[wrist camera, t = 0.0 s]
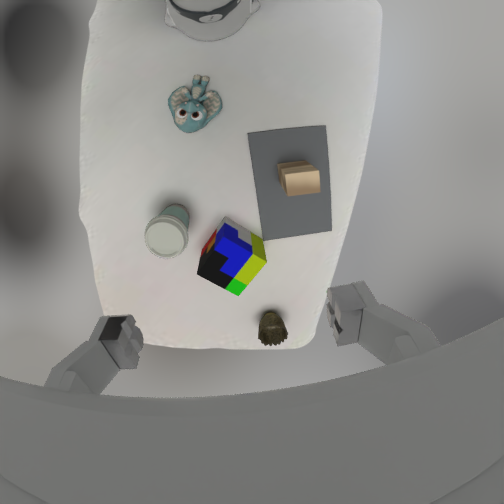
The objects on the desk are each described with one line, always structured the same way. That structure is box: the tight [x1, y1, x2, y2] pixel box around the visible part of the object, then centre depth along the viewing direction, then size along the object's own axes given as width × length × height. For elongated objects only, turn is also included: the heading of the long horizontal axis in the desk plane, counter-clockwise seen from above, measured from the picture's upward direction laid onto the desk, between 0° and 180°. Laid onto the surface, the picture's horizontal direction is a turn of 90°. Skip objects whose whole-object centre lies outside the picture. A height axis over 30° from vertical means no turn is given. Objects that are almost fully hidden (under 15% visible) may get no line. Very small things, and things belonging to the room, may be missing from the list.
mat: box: [248, 126, 332, 241], centre depth 57 cm, size 24×16×1 cm, turn 8°
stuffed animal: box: [168, 75, 222, 133], centre depth 45 cm, size 11×7×12 cm
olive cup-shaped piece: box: [258, 312, 288, 346], centre depth 71 cm, size 8×7×8 cm
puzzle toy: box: [197, 217, 267, 296], centre depth 59 cm, size 10×10×10 cm
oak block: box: [277, 160, 320, 196], centre depth 51 cm, size 4×6×10 cm, turn 98°
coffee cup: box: [145, 204, 189, 259], centre depth 54 cm, size 9×8×12 cm
